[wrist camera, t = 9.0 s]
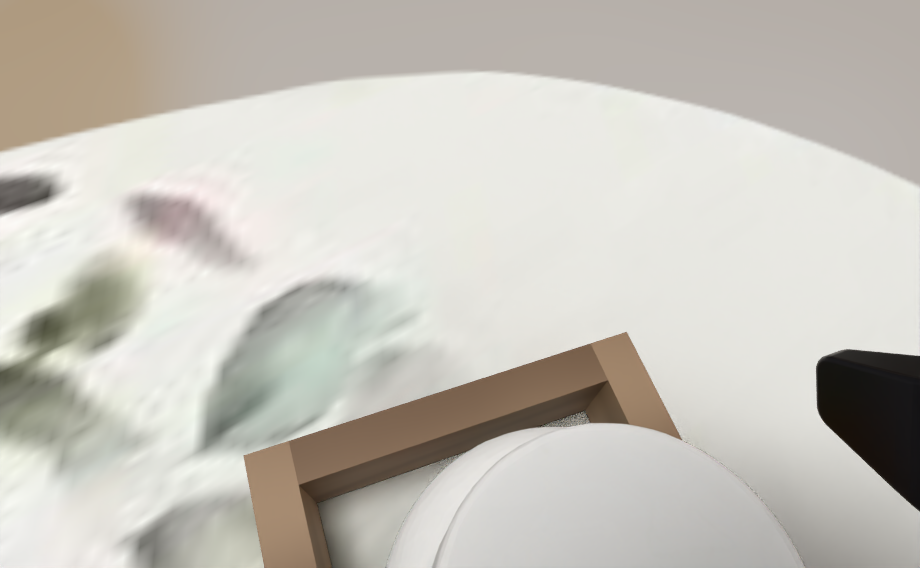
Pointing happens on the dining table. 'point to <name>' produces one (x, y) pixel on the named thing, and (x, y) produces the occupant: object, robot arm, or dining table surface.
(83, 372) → the dining table surface
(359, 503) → the dining table surface
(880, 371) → the robot arm
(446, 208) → the dining table surface
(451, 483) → the supplement bottle
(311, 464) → the walnut collar
